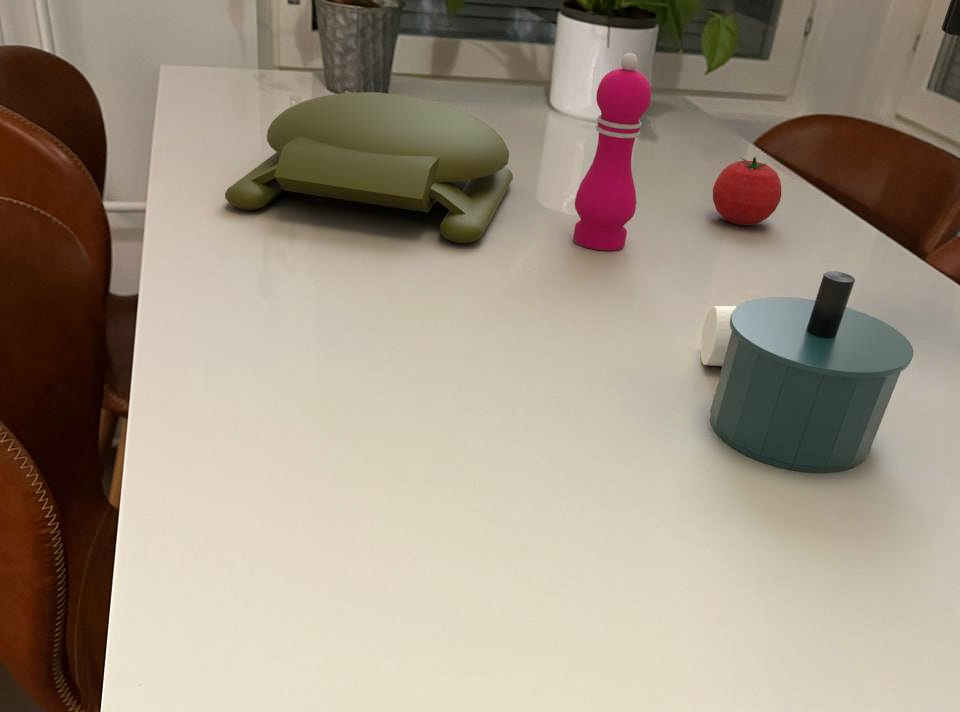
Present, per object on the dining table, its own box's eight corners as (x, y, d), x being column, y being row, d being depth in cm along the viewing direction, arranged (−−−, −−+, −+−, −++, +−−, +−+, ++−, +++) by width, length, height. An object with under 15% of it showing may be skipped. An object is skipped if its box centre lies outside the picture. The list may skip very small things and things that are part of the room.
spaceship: (478, 251, 112) (486, 159, 106) (218, 210, 114) (212, 118, 108) (520, 171, 139) (529, 94, 133) (309, 140, 141) (308, 62, 135)
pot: (843, 402, 91) (876, 313, 85) (888, 479, 80) (928, 383, 75) (698, 389, 90) (722, 297, 85) (725, 464, 80) (753, 366, 74)
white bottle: (830, 389, 93) (850, 331, 89) (705, 375, 92) (720, 317, 89) (816, 361, 97) (835, 306, 94) (697, 348, 97) (711, 292, 93)
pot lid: (877, 318, 86) (901, 253, 82) (934, 394, 75) (964, 323, 71) (713, 302, 85) (730, 235, 82) (746, 376, 74) (767, 303, 71)
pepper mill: (619, 233, 122) (652, 48, 109) (635, 253, 117) (673, 62, 104) (563, 230, 121) (590, 43, 108) (577, 251, 116) (608, 57, 103)
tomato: (700, 224, 128) (716, 158, 123) (712, 206, 135) (727, 143, 130) (767, 238, 126) (786, 171, 121) (776, 219, 133) (794, 156, 128)
